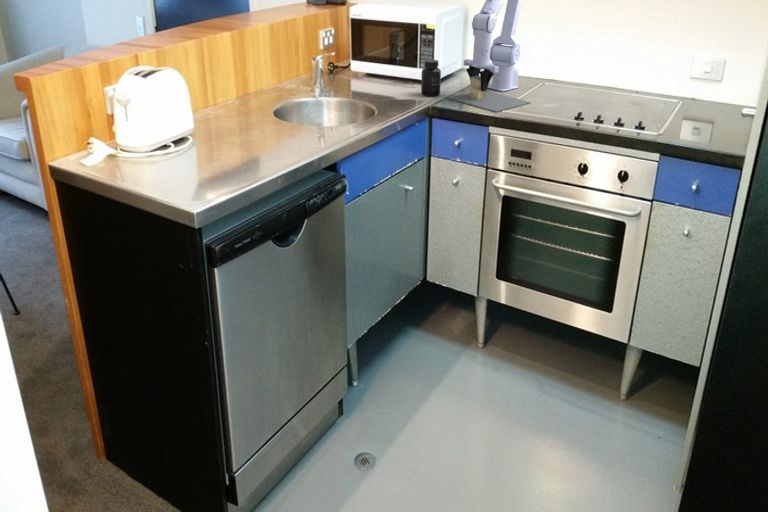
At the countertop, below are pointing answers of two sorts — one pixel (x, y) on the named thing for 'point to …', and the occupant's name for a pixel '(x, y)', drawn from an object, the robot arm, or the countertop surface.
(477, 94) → the beech block
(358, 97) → the countertop surface
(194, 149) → the countertop surface
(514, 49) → the robot arm
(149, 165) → the countertop surface
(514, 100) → the rubber mat
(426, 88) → the supplement bottle
